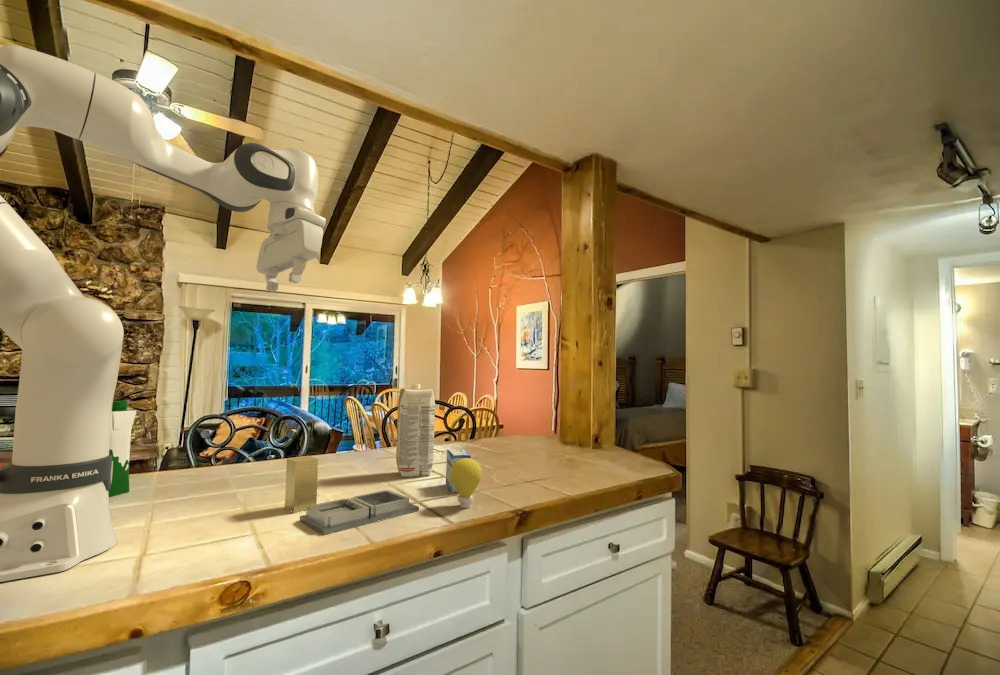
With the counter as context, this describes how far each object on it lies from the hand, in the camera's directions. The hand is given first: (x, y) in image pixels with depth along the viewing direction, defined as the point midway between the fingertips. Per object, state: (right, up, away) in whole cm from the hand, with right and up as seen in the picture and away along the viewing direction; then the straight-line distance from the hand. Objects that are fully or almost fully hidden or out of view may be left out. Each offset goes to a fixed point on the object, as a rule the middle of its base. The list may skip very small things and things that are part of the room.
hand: (282, 286), depth 97 cm
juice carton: (+22, -47, +29) cm, 60 cm away
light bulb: (+37, -46, +2) cm, 60 cm away
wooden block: (+4, -45, -1) cm, 45 cm away
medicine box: (+35, -47, +16) cm, 61 cm away
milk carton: (-42, -45, +5) cm, 61 cm away
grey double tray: (+18, -45, -5) cm, 49 cm away
